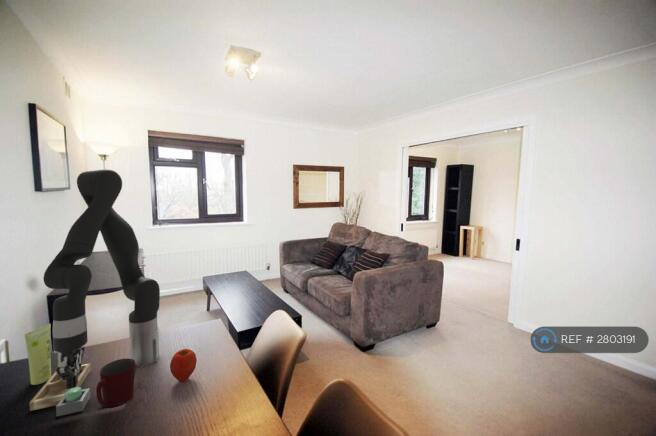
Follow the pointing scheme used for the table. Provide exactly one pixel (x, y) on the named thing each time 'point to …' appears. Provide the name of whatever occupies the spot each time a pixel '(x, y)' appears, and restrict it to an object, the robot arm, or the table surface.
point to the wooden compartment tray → (56, 389)
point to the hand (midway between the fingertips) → (72, 386)
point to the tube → (39, 354)
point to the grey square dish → (73, 404)
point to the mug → (116, 382)
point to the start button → (73, 394)
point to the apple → (183, 364)
